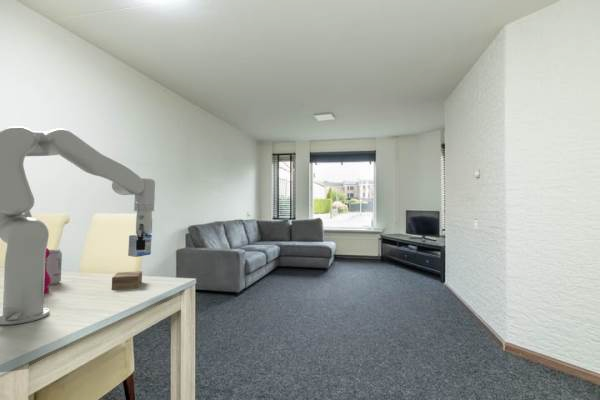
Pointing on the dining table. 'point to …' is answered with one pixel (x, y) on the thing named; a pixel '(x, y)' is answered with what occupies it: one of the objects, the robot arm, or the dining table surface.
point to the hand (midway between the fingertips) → (142, 248)
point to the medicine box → (137, 253)
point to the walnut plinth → (127, 280)
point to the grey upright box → (54, 266)
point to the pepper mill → (46, 273)
